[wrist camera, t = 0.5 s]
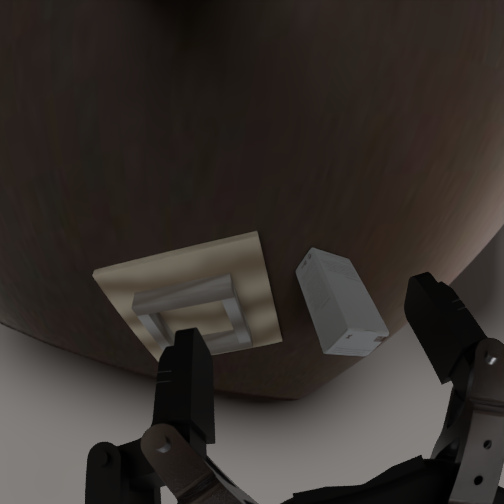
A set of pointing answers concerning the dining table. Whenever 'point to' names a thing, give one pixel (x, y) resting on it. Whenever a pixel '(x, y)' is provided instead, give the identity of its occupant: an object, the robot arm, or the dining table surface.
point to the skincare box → (339, 305)
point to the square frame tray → (197, 295)
